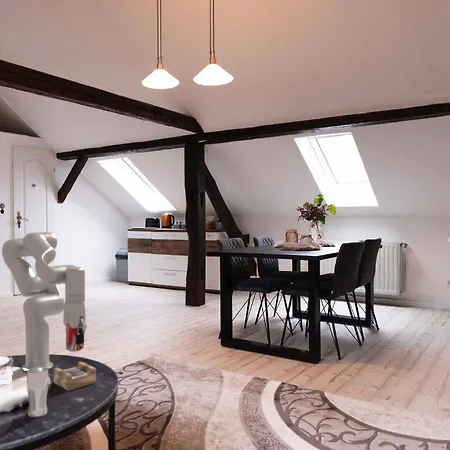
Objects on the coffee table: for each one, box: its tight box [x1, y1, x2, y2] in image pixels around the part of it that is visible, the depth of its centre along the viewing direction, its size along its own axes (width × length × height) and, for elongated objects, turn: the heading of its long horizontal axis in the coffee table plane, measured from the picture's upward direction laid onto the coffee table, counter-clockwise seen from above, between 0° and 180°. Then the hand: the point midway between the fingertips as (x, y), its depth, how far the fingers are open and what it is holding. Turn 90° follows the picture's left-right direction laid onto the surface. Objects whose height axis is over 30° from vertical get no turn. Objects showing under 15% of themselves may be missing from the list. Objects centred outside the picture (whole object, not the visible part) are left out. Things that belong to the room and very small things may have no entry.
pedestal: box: [53, 360, 97, 391], centre depth 185 cm, size 12×12×6 cm
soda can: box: [65, 321, 85, 353], centre depth 184 cm, size 7×7×12 cm
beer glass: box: [26, 367, 50, 418], centre depth 156 cm, size 7×7×15 cm
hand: (75, 341), depth 184 cm, fingers closed on soda can, 7 cm apart
